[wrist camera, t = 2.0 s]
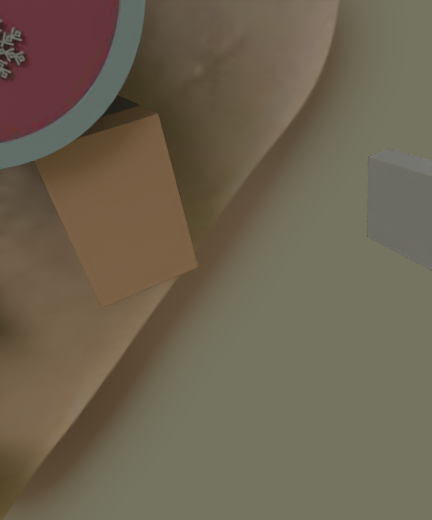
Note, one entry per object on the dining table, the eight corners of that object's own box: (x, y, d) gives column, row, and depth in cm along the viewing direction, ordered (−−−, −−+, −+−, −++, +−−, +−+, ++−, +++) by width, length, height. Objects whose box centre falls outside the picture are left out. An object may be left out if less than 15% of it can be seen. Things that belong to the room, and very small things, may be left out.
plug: (18, 110, 19) (30, 153, 12) (100, 87, 20) (158, 113, 13) (68, 221, 22) (101, 308, 15) (136, 196, 23) (198, 267, 16)
